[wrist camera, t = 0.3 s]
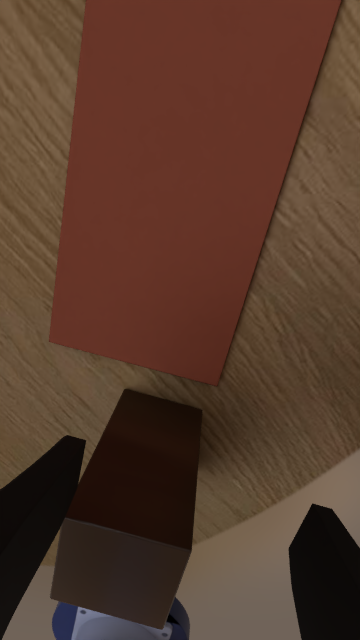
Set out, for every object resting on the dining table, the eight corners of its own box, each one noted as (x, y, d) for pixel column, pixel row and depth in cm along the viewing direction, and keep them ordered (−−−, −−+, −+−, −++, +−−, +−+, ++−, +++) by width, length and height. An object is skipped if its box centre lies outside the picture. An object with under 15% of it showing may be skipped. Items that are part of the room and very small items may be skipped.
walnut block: (183, 470, 20) (162, 630, 13) (111, 450, 20) (48, 599, 13) (202, 409, 19) (191, 552, 11) (124, 388, 19) (61, 516, 11)
